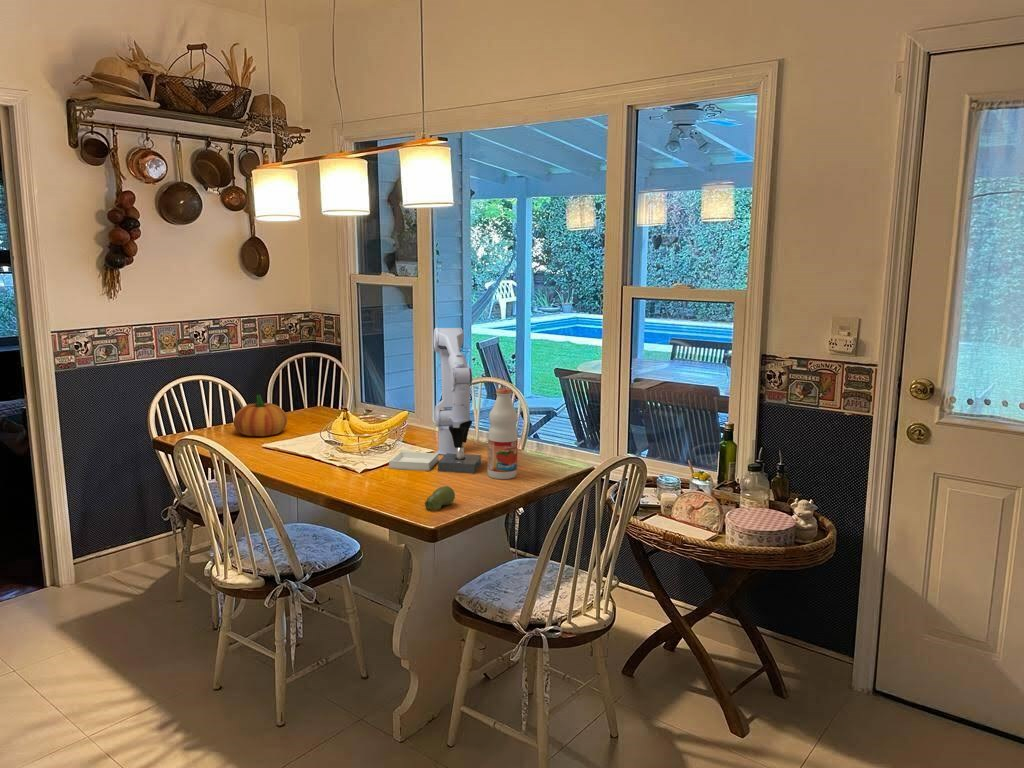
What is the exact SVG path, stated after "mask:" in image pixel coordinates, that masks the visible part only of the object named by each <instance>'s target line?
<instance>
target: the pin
mask: <svg viewBox="0 0 1024 768" xmlns="http://www.w3.org/2000/svg"><path fill="white" fill-rule="evenodd" d="M464 454H465V443H462V447H461V448H457V460H464Z"/></svg>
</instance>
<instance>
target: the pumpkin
mask: <svg viewBox="0 0 1024 768" xmlns="http://www.w3.org/2000/svg"><path fill="white" fill-rule="evenodd" d="M255 398H256V401H255V403H248V404H246V405H245V406H243V407H242V408H240V409H239V410H238V411H237V412H236V413H235V415H234V418H233V426H234V428H235V430H236V431H237V433H239V434H242V435H244V436H247V437H252V438H253V437H256V438H257V437H260V438H261V437H262V438H263V437H269V436H274V435H277V434H279V433H282V432H283V430H284V429H285V428H286V426H287V423H288V417H287V414H286V412H285V411H284V409H282V408H281V406H279V405H277V404H274V403H270V402H264V401H263V398H262V396H261V394H256V397H255Z"/></svg>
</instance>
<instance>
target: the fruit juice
mask: <svg viewBox="0 0 1024 768" xmlns="http://www.w3.org/2000/svg"><path fill="white" fill-rule="evenodd" d="M512 390H513V389H512V388H509V387H508V388H507V387H498V388H496V389H495V395H496V399H495V402H494V404H493V407H492V408H491V410H490V411H489V414H488V420H489V428H488V432H487V433H488V434H487V469H486V470H487V475H488V477H490V478H492V479H496V480H511V479H514V478H516V476H517V474H518V445H519V444H518V441H519V440H518V439H519V437H518V436H519V431H518V428H517V425H518V424H517V423H518V420H519V415H518V412H517V411H516V410H517V409H515V407H514V405H513V400H512V396H511V395H512V394H513V393H512V392H513V391H512ZM510 478H511V479H510Z"/></svg>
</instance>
